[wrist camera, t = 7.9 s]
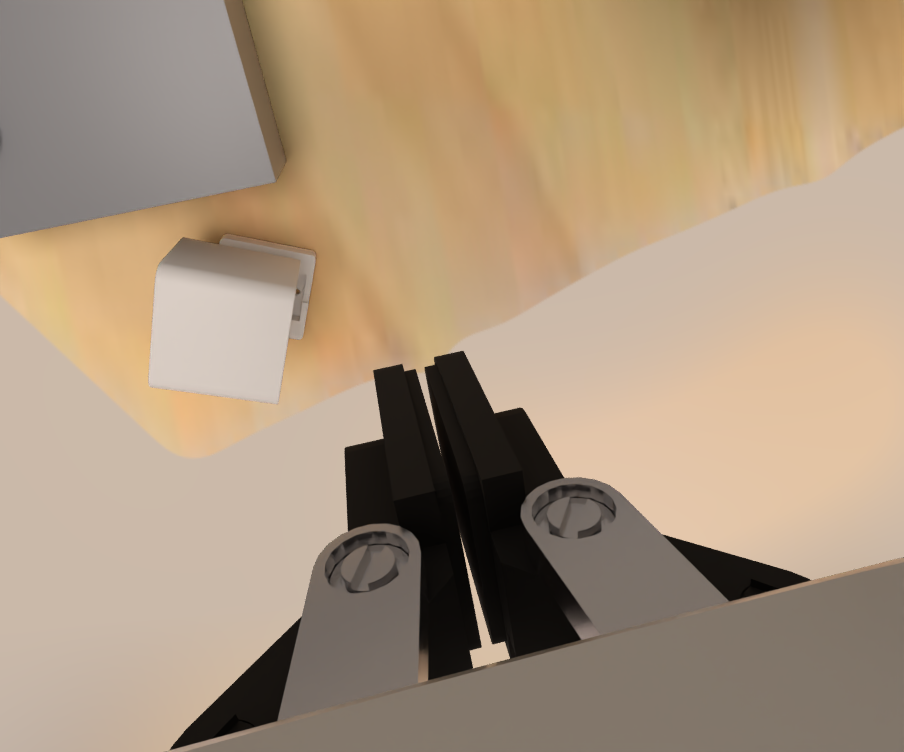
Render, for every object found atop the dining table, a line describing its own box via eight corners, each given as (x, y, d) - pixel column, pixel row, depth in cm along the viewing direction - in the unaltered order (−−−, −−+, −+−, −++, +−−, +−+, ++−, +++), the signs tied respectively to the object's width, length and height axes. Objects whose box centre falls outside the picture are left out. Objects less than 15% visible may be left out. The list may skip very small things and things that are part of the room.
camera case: (213, -102, 31) (175, -161, 23) (286, 161, 36) (275, 184, 29) (-109, -49, 29) (-262, -93, 22) (18, 214, 35) (-69, 254, 27)
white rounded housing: (196, 219, 37) (154, 265, 28) (317, 244, 39) (314, 294, 30) (187, 320, 39) (145, 392, 30) (302, 339, 41) (294, 412, 32)
